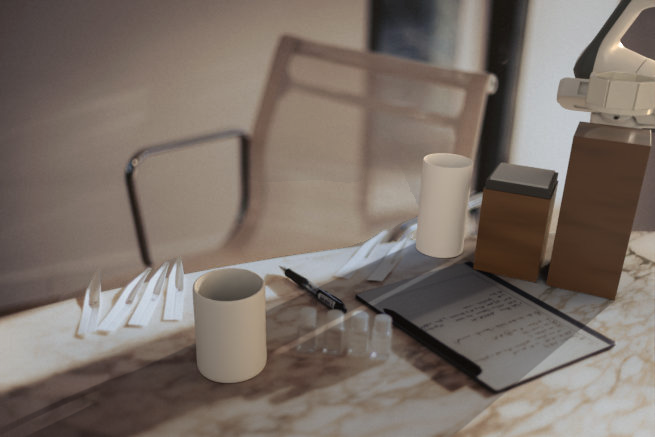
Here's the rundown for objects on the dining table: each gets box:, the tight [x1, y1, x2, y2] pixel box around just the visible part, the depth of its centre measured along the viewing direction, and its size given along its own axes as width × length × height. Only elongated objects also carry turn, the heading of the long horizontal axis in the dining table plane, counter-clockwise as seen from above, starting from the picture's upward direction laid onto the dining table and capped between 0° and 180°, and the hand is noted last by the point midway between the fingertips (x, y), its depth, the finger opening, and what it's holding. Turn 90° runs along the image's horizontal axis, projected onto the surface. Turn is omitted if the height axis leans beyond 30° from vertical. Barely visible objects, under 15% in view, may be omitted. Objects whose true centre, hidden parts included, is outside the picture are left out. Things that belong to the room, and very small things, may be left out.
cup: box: [415, 152, 474, 259], centre depth 106 cm, size 8×8×16 cm
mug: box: [192, 267, 268, 384], centre depth 76 cm, size 12×8×11 cm
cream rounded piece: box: [585, 71, 655, 116], centre depth 94 cm, size 22×9×4 cm, turn 155°
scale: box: [484, 161, 559, 199], centre depth 98 cm, size 10×10×2 cm
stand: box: [472, 120, 652, 301], centre depth 97 cm, size 10×22×24 cm, turn 65°
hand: (623, 81), depth 99 cm, fingers closed on cream rounded piece, 2 cm apart
